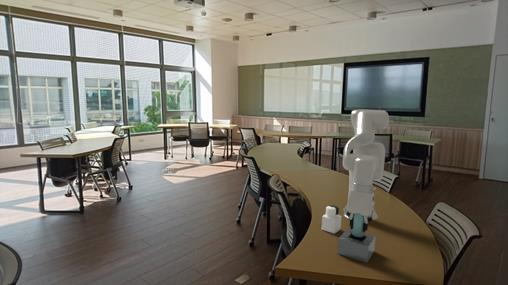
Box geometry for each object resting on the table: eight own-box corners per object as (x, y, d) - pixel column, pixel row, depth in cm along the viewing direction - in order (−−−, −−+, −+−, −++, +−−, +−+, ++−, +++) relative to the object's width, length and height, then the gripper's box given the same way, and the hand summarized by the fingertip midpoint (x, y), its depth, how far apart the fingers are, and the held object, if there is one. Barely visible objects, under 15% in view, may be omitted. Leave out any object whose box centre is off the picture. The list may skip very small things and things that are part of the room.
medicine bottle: (327, 225, 158) (329, 203, 157) (340, 229, 154) (342, 206, 152) (320, 229, 153) (322, 206, 151) (334, 234, 148) (336, 210, 147)
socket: (346, 243, 139) (347, 228, 138) (374, 251, 132) (375, 236, 131) (337, 253, 129) (338, 237, 128) (367, 263, 123) (368, 246, 122)
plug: (353, 231, 132) (355, 209, 131) (364, 234, 130) (366, 211, 129) (350, 235, 129) (352, 212, 128) (361, 238, 126) (363, 214, 125)
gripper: (385, 189, 125) (381, 232, 128) (344, 182, 135) (341, 222, 137) (381, 193, 119) (377, 238, 121) (338, 185, 128) (335, 227, 131)
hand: (358, 229), depth 129 cm, fingers closed on plug, 4 cm apart
